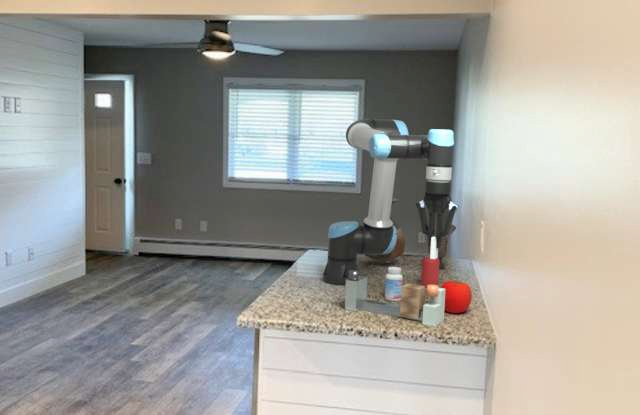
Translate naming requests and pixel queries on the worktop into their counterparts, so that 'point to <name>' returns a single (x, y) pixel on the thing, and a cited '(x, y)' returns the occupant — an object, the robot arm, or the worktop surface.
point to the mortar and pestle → (443, 246)
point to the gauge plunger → (432, 291)
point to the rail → (357, 300)
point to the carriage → (412, 300)
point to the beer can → (429, 271)
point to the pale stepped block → (434, 309)
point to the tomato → (456, 296)
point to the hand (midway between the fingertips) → (433, 257)
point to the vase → (397, 249)
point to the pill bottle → (393, 284)
